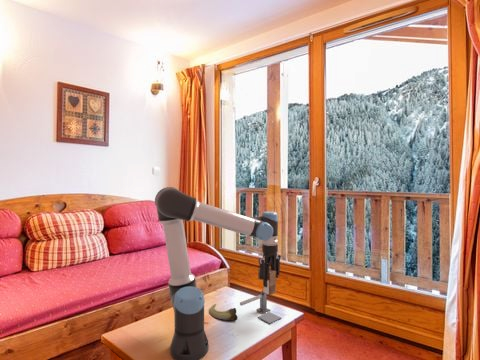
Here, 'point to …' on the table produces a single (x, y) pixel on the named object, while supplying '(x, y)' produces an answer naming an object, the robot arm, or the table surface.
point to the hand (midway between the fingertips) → (269, 291)
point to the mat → (269, 317)
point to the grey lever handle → (263, 302)
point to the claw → (223, 313)
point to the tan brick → (270, 281)
